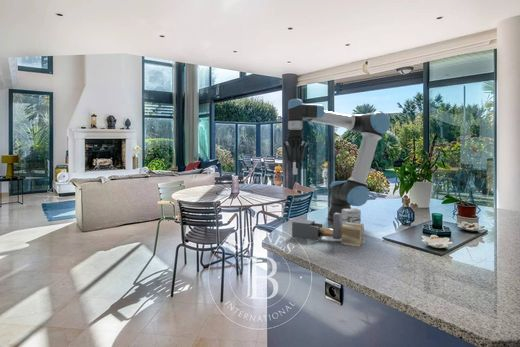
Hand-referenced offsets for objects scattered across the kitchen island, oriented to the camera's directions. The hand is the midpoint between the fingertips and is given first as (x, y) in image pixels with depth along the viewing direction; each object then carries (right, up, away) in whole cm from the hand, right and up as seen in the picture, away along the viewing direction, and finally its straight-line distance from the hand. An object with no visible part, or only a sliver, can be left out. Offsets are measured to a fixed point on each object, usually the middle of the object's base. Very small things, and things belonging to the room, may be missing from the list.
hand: (295, 174), depth 176 cm
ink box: (+28, -30, -5) cm, 41 cm away
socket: (+24, -32, -24) cm, 46 cm away
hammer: (+15, -30, -19) cm, 38 cm away
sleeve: (+5, -31, -14) cm, 34 cm away
